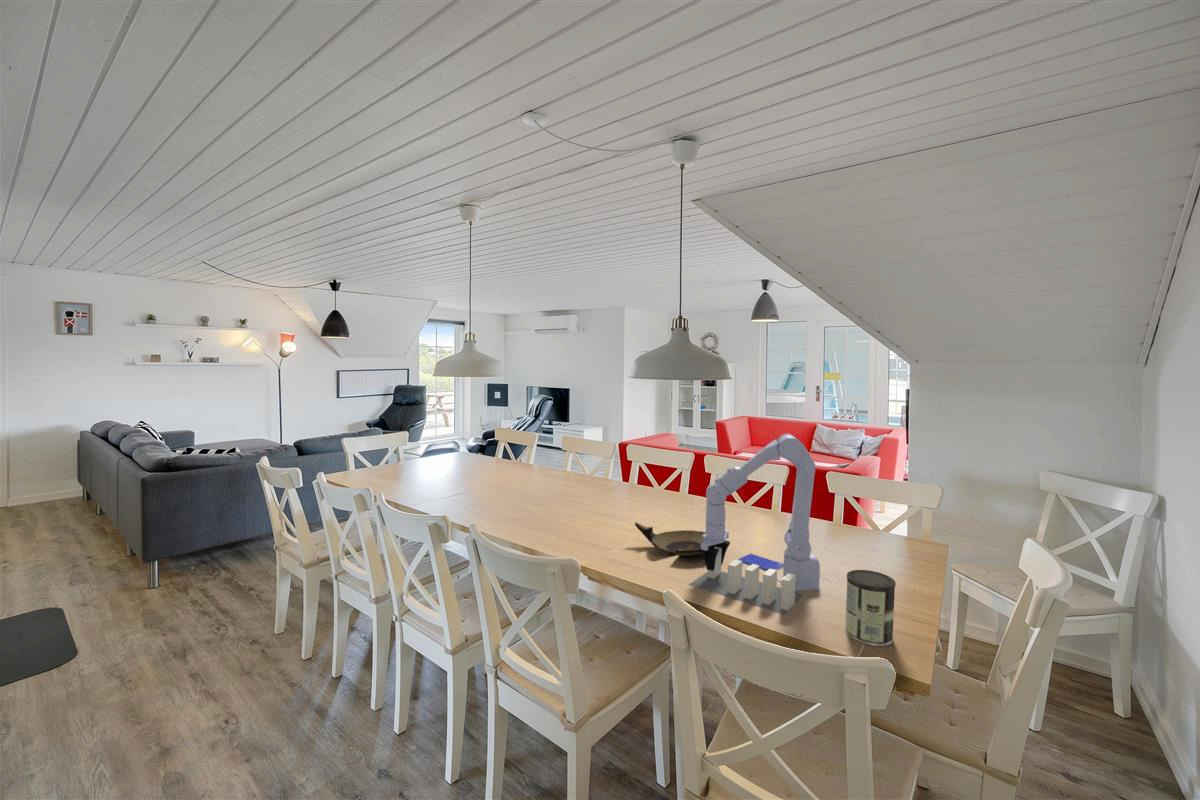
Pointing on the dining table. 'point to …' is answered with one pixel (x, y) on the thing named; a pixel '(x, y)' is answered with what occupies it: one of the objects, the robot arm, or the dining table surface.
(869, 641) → the coffee can
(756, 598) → the mat
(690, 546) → the oil lamp
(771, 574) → the domino
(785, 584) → the domino
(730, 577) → the domino
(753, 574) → the domino
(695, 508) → the dining table surface
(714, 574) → the domino
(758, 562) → the hard drive
